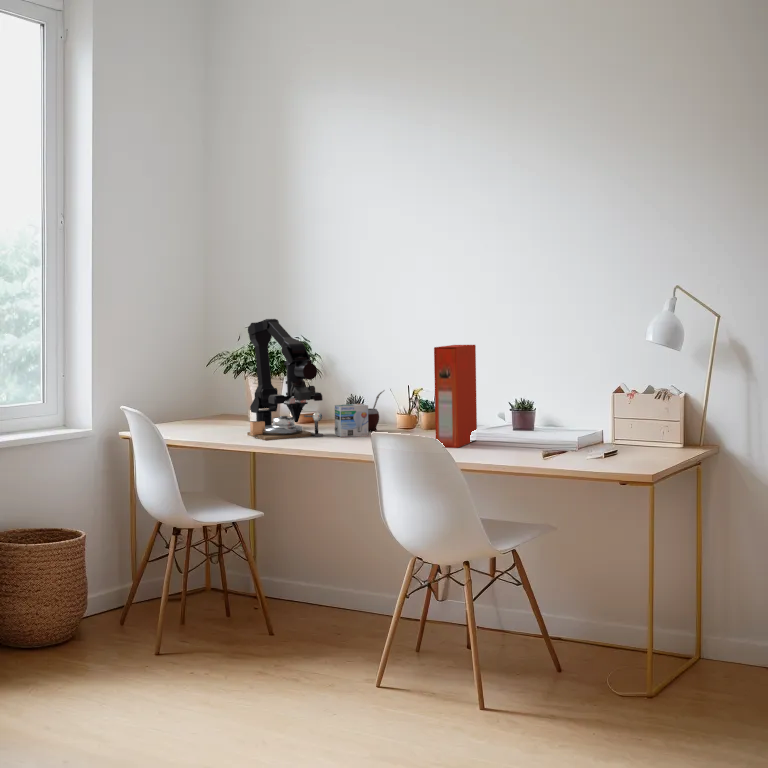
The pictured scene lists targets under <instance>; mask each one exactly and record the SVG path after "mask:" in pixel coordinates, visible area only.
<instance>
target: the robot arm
mask: <svg viewBox="0 0 768 768" xmlns="http://www.w3.org/2000/svg"><path fill="white" fill-rule="evenodd" d="M247 333H248V337H249V338H248V339H249V341H250V342H251V344H252V345H253V346H254V352H255V353H254V354H255V363H256V374H257V377H256V378H257V387H256V389H255V391H254V399H253V400H252V402H251V405H250V407H249V409H250V412H251V413H254V414H255V415H256V416H255V417H256V419H255V420H256V421H264V422H265V426H268V425H273V416H272V414H273V412H275V413H276V412H277V411H278V405H280V404H281V405H282V404H283V405H286V407H287V408H288V410H289V412H290V414H291V417H294V423H299V419H300V416H301V414H302V410H303V408H304V406H305V405H308V402H307V401H310V400H311V401H312V400H313V401H314V402H319V401H323V399H324V398H323V394H322V392H319V391H316V387H315V386H314V385H309V386H307V385H306V382H305V381H304V380H314V379H315V378H316V376H317V374H318V368H317V366H316V365H315V364H314V363H313V360H312V359H311V356H310V355H309V352H308V350H307V348H306V346H305V344H304V343H303V342H302V341H300V340H299V339H296V338H295V337H294V338H293V337H292V336H291V335H290V334H289V333H288V332H287V330H286V329H285V328H284V327H283V326H282V325H281V324H280V322H279V320H278V319H276V318H265V319H263V320H261V321H257V322H250V324H249V326H248V327H247ZM272 338H273V339H274V340H275V341H276V342H277V344H279V346H280V347H281V353H282V355H283V357H284V358H285V359H286V360H285V361H284V362H283V366H286V380H285V384H286V392H285V395H284V394H280V393H279V394H278V391H279V390H278V388H277V387H274V385H273V383H272V377H271V375H272V373H271V365H270V354H269V345H270V343H271V340H272ZM256 421H255V422H256Z"/></svg>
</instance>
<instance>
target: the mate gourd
mask: <svg viewBox="0 0 768 768" xmlns="http://www.w3.org/2000/svg"><path fill="white" fill-rule="evenodd" d="M385 391H386V390H385V389H383V390H382V391H380V392H379V393H378V394H377V395H376V398H375V402H374V404H373V407H372V408H368V433H369V432H371V433H373V432H372V431H375V432H376V431H378V429H377V426H378V424H379V422H380V414H379V411H378V409H377V408H376V405H377V404H378V403H377V402H378V400H379V398H380V396H381V395H382V394H383V393H384V392H385Z"/></svg>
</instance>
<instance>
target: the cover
mask: <svg viewBox="0 0 768 768" xmlns="http://www.w3.org/2000/svg"><path fill="white" fill-rule="evenodd" d="M296 425H297V424H295V421H294V417H292V416H288V415H280V416H277V417H272V428H279V429H284V428H294V427H296Z"/></svg>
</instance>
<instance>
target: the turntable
mask: <svg viewBox="0 0 768 768" xmlns="http://www.w3.org/2000/svg"><path fill="white" fill-rule="evenodd" d="M249 423H250V424H249V425H250V428H249V429H250V431H249V432H250V433H251V434H252V435H259V434H265V435H290V434H298V433H302V430H303V426H302V425H300V424H295V425H296V427H294V428H284V429H279V428H272V425H273V424H272V425H268V426H265V422H264V421H250V422H249Z"/></svg>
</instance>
